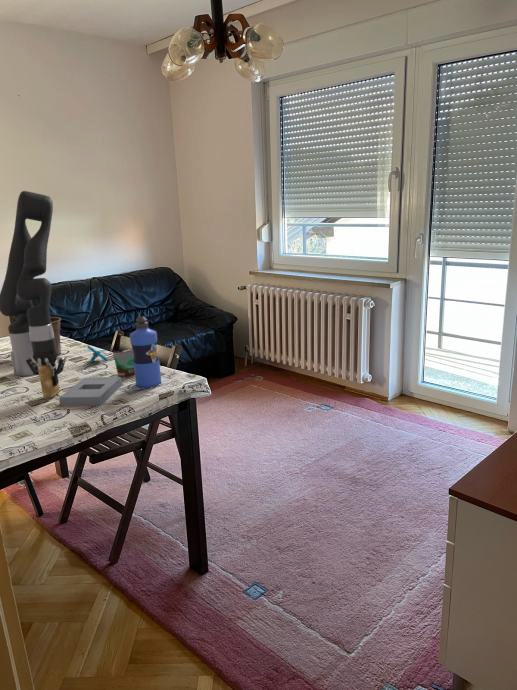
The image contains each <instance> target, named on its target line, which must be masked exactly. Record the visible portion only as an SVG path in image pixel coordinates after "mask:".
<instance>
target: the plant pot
mask: <svg viewBox="0 0 517 690" xmlns="http://www.w3.org/2000/svg"><path fill="white" fill-rule="evenodd" d="M50 318H51V324H52V327H53V332H54V338H55V344H56V352H57V354H58V356H59V355H61V353H62V349H61V346H62V345H61V321H62V318H61V317H57V316H50Z"/></svg>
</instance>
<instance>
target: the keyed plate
mask: <svg viewBox="0 0 517 690" xmlns="http://www.w3.org/2000/svg"><path fill="white" fill-rule="evenodd" d="M122 385H123V380H122V377H118V376H108V377H107V376H105V377H104V376H102V377H101V376H100V377H97V376H96V377H83V378H82V379H80V380H79V381H78V382H77V383H76V384H74V385H72V387H70V388H69V389H67V391H65V392H64V393H63V394H62V395H60V396H59V397H58V400H59V406H60V407H82V406H86V407H87V406H91V407H92V406H102V405H103V404H104V403H106V402H107V400H108V399H109V398H111V396H112V395H114V393H115V392H117V390H118V389H120V388H121V387H122Z"/></svg>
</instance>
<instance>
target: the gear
mask: <svg viewBox="0 0 517 690" xmlns="http://www.w3.org/2000/svg"><path fill="white" fill-rule="evenodd" d="M86 348H88V350H90V351H91V352H92V353H93V354H92V357H91V358H90V361H89V364H92V363H93V362H94V361H95V360H96V359H97V358H98V357H100V358H101V359H102V360H104V361H105V362H106V361H108V360H109V358H107V356H104V355H103V354H102V353H101V351H100V350H96V349H95V348H94V347H92V346H91V345H88V346H87V347H86Z"/></svg>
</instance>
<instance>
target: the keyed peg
mask: <svg viewBox="0 0 517 690" xmlns="http://www.w3.org/2000/svg"><path fill="white" fill-rule="evenodd" d="M52 366H53V365H52ZM38 369H39V375H40V376H39V375H38V376H39V379H40V385H41V391H42V397H43V398H53V397H54V396H55V395H56V394H58V393H59V392H61V390H60V384H59V382H58V384H57V386H53V384H52V378H51V377H52V376H51V373H50V370H49V365H41V366H39V367H38Z"/></svg>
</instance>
